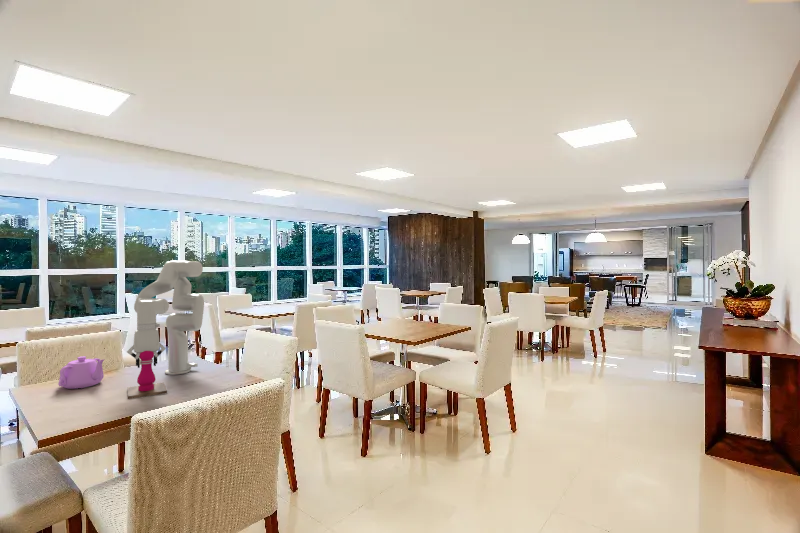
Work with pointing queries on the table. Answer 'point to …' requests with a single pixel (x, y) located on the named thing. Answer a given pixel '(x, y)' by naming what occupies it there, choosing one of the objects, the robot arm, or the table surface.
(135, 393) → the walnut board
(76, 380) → the teapot
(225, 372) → the table surface
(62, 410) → the table surface
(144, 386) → the pepper mill
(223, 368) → the table surface
